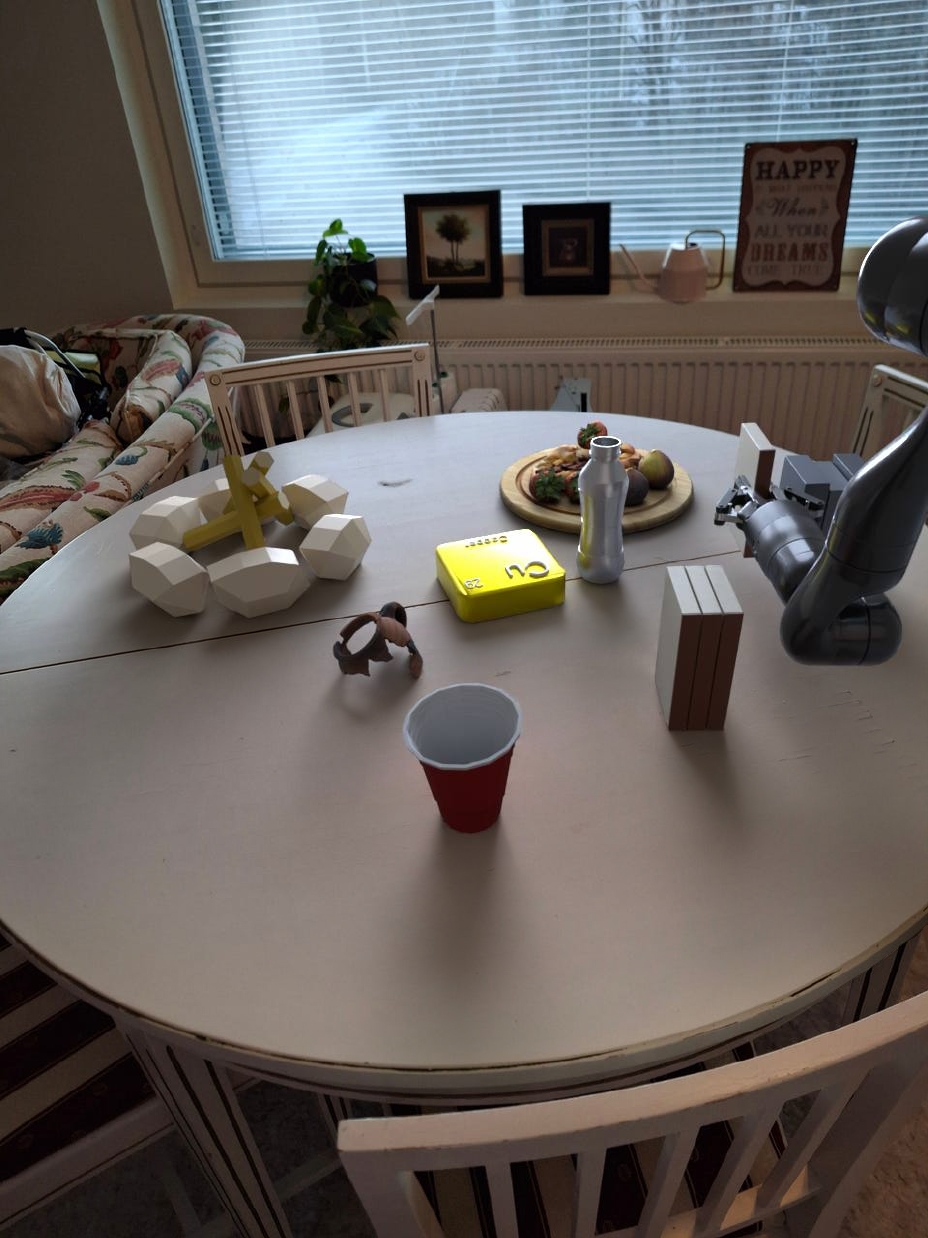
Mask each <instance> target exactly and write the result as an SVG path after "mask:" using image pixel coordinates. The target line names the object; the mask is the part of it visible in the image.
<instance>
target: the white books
mask: <svg viewBox="0 0 928 1238" xmlns="http://www.w3.org/2000/svg"><path fill="white" fill-rule="evenodd" d="M663 585H664V586H663V595H662V602H661V603H662V604H661V614H660V615H661V616H660V623H659V634H658V641H657V651H656V660H655V671H654V679H655V683H656V688H657V692H658V695H659V699H660V703H661V707H662V710H663V711H662V712H663V715H664V719H665V722H666V726H667V727H666V728H667V731H668V732H685V731H688V732H698V731H699V732H700V731H701V732H702V731H724V730H725V724H726V719H727V713H728V707H729V702H730V696H731V690H732V685H733V679H734V673H735V668H736V662H737V657H738V650H739V647H740V646H739V645H740V639H741V635H742V628H743V622H744V617H745V613H744V611H743V609H742V607H741V605H740V602H739V600H738V599H737V596H736V593H735V591H734V589H733V587H732V585H731V583H730V580H729V578H728V576H727V573H726V571H725V569H724V567H723V565H722V564H717V565H716V564H711V565H710V564H707V565H704V566H703V565H685V567H684V566H683V565H679V566H678V565H673V566H671V565H669V566H666V568H665V577H664V584H663Z"/></svg>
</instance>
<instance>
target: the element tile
mask: <svg viewBox="0 0 928 1238" xmlns="http://www.w3.org/2000/svg"><path fill="white" fill-rule="evenodd" d="M434 555H435V566H436V567H435V568H436V576H437V578H438V580H439V583H440V584H441V586H442V589H443V590H444V592H445V594H446V596H447V597H448V600H449V601H450V604H451V605H452V608H453V609H454V612H455V613H456V615H457V618H459V619H460V620H461V621H462V622H465V623H468V624H469V623H471V624H474V623H475V624H476V623H482V622H486V621H492V620H496V619H502V618H505V617H506V618H507V617H510V616H515V615H521V614H525V613H530V612H535V611H540V610H544V609H550V608H554V607H558V606H560V605H562V604H563V603H564V602H565V600H566V579H567V578H566V576H567V575H566V570H565V569H564V568H563V566H562V565H561V564H560V563H559V562H558V560H557V559H556V558H555V557H554V555H553V554H552V553H551V551H550V550H549V548H547V546H546V545H545V544H544V543H543V541H542V540H541V538H540V537H539V536H538V535H537V534H536V533H535V532H534V531H531V530H530V529H519V530H512V531H507V532H501V533H496V534H495V533H494V534H491V535H487V536H485V535H484V536H480V537H475V538H469V539H463V540H458V541H453V542H447V543H443V544H440V545H438V546H437V547H436V548H435V550H434Z"/></svg>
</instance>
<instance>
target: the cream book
mask: <svg viewBox="0 0 928 1238" xmlns="http://www.w3.org/2000/svg"><path fill="white" fill-rule="evenodd" d="M776 452H777V449H775V447H774V446H773V444H772V443H771V442H770V440H769V438H767V437H766V434H764V432H763V431H762V430H761V428H760V427H759V426H758V424H757V423H756V422H741V425H740V432H739V440H738V447H737V455H736V461H735V468H734V476H733V482H732V488H734V483H735V479H738V476H739V475H745V477H746V478H747V480H748V482H749V483H750V485H751V488H752V490H753V491H757V492H758V493H759V494H760V495H761V497H762V498H763V499H768V494H769V488H770V482H771V481H772V476H773V470H774V465H775V460H776V459H775V457H776ZM740 510H741V508H740V506H739V505H737V506H736V508H735V512H736V513H738V512H739V511H740ZM727 527H728V529H729V531H730V533H731V535H732V537H733V539H734V541H735V543H736V545H737V547H738V550H739V551H740V553H741V555H742V557H743V559H755V556H754V554H753V553H752V551H751V549H750V547H749V545H748V543H747V541H746V538H745V535H744V532H743V531H742V530H740V529H738V528H737V527H736V524H735V523H732V522H727Z"/></svg>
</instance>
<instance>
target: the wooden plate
mask: <svg viewBox="0 0 928 1238" xmlns="http://www.w3.org/2000/svg"><path fill="white" fill-rule="evenodd" d="M579 428H580V429H579V431H578V432H577V436H576V440H577V444H570V445H567V444H562V445H559V446H557V447H552V448H551V447H550V448H547V449H542V450H540V451H536V452H534V453H530V454H528V455H526V456H523V457H522V458H520V459H518V460H515V462H513V463H512V464H511V465H510V466H509V467H507V468H506V470H505V471H504V472H503V474H502V475H501V477H500V480H499V483H498V491H499V495H500V498H501V500H502V501H503V503H504V505H505V506H506V507H507V508H508V509H509V510H510V511H511V512H513V513H514V514H515V515H516V516H518V517H520V518H522V519H523V520H525V521H527V522H530V523H532V524H535V525H537V526H539V527H543V528H547V529H550V530H555V531H560V532H564V533H571V534H579V535H580V533H581V518H582V517H581V503H580V496H579V488H578V478H579V475H580V472H581V470H582V469H583V468H584V466H585V465H586V464H587V463H588V462H589V461H590V459H591V457H590V455H589V452H590V449H591V441H592V439H594V438H597V437H603V436H607V437H609V436H608V433H609V432H608V429H607V427H606V425H605V424H604V423H603V422H601V421H592V422H590V423H589V422H588V423H587V425H586V427H581V426H580V427H579ZM620 443H621V446H620V451H621V455H620V457H619V458H618V460H619V461H620V463H621V464H622V465H623V467H624V468H625V470H626V472H627V475H628V478H629V485H628V491H627V495H626V500H625V505H624V511H623V518H622V535H625V534H631V533H637V532H643V531H647V530H650V529H654V528H656V527H660V526H661V525H664V524H667V523H668V522H671V521H672V520H674V519H676V518H677V517H678V516H680V515H682V514H683V512H684V511H686V509H687V508H688V507H689V506H690V504H691V502H692V501H693V497H694V492H695V491H694V489H695V488H694V483H693V480H692V478H691V476H690V474H689V473H688V472H687V471H686V470H685V469H684V468H683V467H681V466H680V465H679V464H678V463H676V462H675V461H673V460H671V458H670V456H668V455H667V454H666V453H665V452H663V451H662V450H660V449H657V448H653V449H652V450H650V451H648V450H645V449H641V448H636V447H634V446H633V445H631V444H630V443H627V442H626V443H623V442H620Z"/></svg>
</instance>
